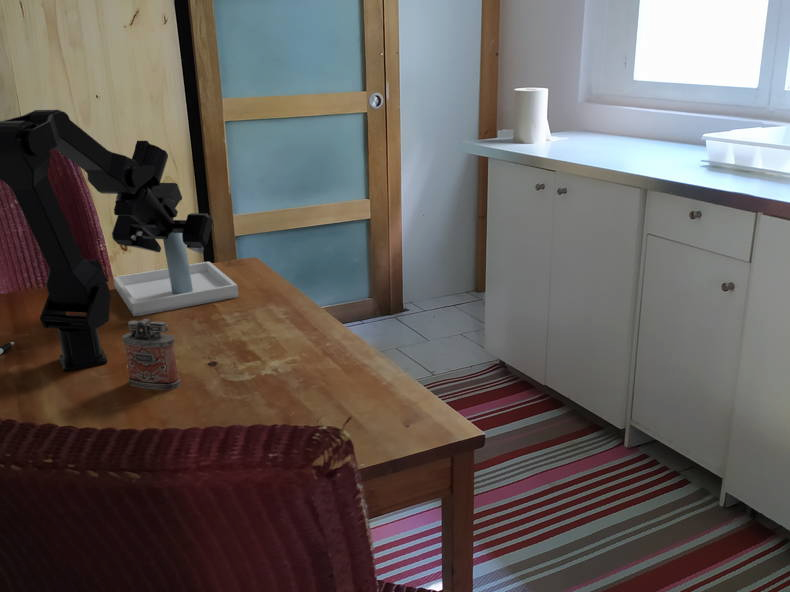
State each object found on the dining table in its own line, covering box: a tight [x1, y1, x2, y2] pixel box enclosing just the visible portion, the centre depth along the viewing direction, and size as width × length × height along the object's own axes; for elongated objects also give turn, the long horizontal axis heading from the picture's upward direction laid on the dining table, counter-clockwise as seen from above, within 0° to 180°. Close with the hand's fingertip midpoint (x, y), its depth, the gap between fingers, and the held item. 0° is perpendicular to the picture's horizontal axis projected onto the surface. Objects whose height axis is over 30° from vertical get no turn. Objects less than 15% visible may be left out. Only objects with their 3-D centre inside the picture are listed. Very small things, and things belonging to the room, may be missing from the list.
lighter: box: [121, 317, 181, 391], centre depth 110 cm, size 8×3×10 cm, turn 73°
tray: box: [113, 261, 240, 318], centre depth 152 cm, size 20×20×2 cm
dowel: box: [162, 233, 193, 295], centre depth 149 cm, size 4×4×12 cm
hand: (180, 250), depth 150 cm, fingers open, 9 cm apart
